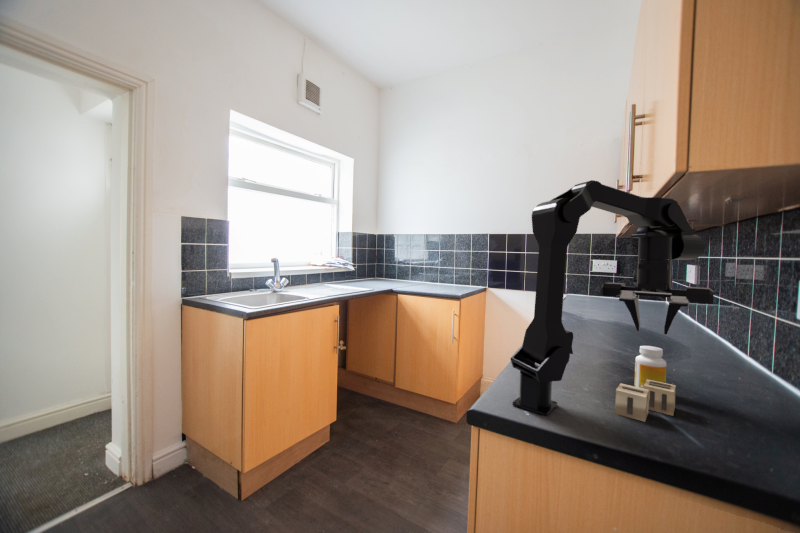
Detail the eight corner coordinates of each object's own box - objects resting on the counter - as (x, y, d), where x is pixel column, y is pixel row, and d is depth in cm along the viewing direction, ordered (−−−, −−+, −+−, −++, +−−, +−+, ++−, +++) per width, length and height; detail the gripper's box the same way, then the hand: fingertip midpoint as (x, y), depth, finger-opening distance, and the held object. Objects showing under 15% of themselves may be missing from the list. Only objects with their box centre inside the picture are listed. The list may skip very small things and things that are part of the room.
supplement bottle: (672, 398, 69) (674, 351, 69) (645, 397, 69) (647, 351, 69) (652, 387, 74) (654, 344, 74) (628, 387, 74) (630, 344, 74)
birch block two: (673, 416, 61) (674, 391, 61) (642, 408, 64) (643, 385, 64) (674, 408, 64) (675, 384, 64) (646, 401, 67) (646, 378, 67)
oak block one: (644, 422, 59) (645, 396, 58) (614, 414, 62) (615, 389, 61) (648, 413, 62) (649, 389, 62) (619, 406, 65) (620, 382, 65)
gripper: (713, 260, 70) (710, 333, 71) (611, 259, 83) (609, 321, 84) (715, 260, 62) (711, 343, 63) (600, 258, 75) (598, 327, 75)
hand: (651, 332), depth 71 cm, fingers open, 4 cm apart
